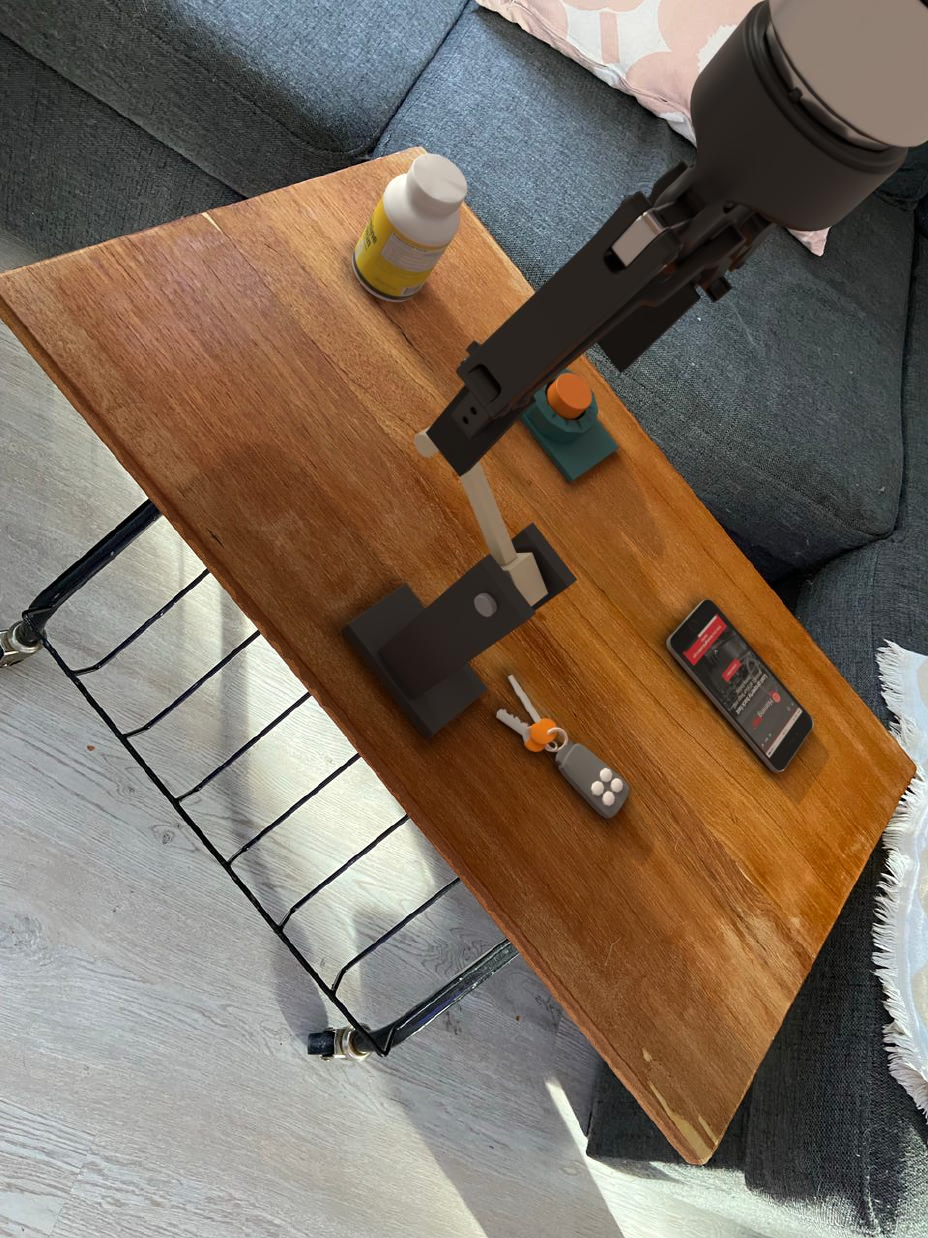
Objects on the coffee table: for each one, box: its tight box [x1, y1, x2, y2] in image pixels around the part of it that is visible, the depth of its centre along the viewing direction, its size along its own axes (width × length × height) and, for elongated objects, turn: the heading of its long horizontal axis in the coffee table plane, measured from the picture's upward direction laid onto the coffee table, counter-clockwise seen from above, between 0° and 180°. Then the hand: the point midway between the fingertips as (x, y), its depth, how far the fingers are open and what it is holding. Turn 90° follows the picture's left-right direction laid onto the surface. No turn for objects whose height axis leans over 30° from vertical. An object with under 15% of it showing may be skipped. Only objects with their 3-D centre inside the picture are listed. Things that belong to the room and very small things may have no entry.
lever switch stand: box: [340, 522, 578, 741], centre depth 65 cm, size 10×6×18 cm, turn 43°
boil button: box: [547, 373, 592, 419], centre depth 85 cm, size 4×4×2 cm
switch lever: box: [413, 425, 548, 606], centre depth 58 cm, size 12×5×2 cm, turn 43°
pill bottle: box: [351, 153, 468, 303], centre depth 80 cm, size 6×6×12 cm
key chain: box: [495, 674, 630, 820], centre depth 75 cm, size 13×4×2 cm, turn 53°
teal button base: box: [518, 367, 620, 484], centre depth 86 cm, size 12×7×2 cm, turn 43°
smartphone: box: [666, 598, 815, 774], centre depth 85 cm, size 7×1×15 cm
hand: (533, 398), depth 51 cm, fingers open, 13 cm apart
